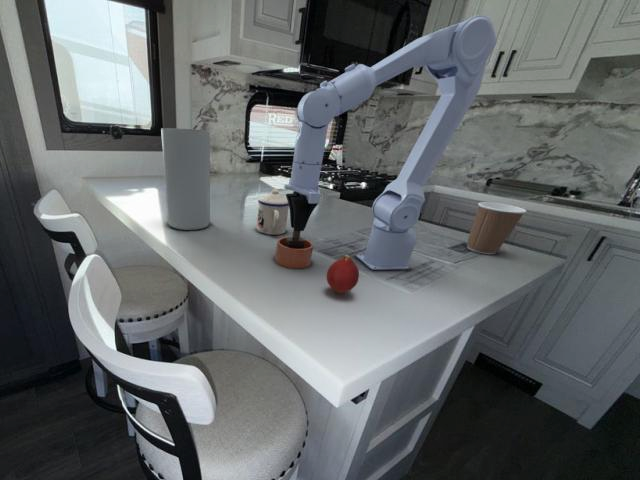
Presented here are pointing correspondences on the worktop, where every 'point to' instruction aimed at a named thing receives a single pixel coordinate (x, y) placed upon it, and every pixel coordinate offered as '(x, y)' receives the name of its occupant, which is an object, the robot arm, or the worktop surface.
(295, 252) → the terracotta bowl
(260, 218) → the teacup with lid
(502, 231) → the coffee cup
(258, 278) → the worktop surface
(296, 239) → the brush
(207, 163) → the cylinder vase
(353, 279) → the onion
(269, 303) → the worktop surface
